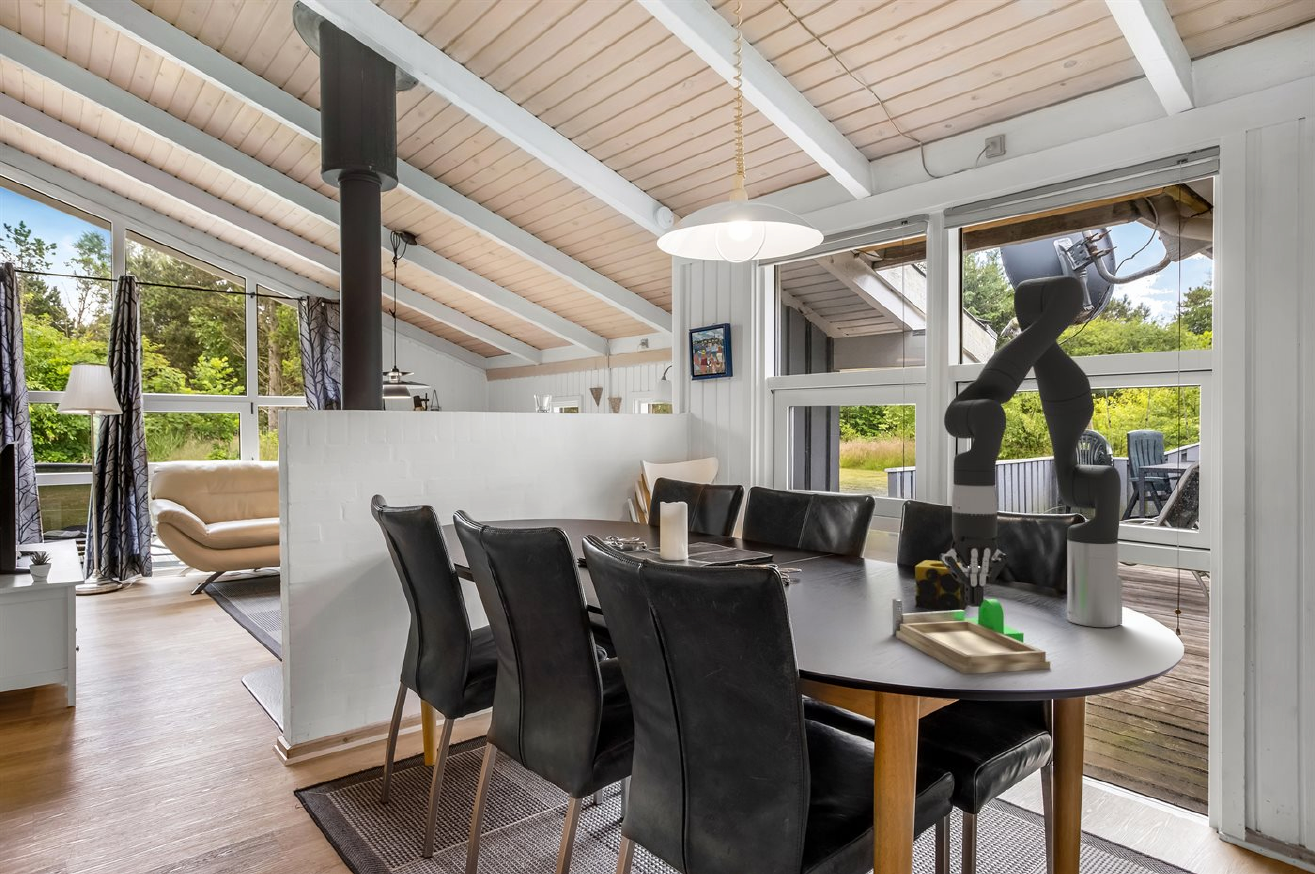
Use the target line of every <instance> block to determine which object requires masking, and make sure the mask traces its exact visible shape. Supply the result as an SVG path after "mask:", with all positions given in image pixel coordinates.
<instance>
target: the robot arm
mask: <svg viewBox="0 0 1315 874" xmlns="http://www.w3.org/2000/svg"><path fill="white" fill-rule="evenodd" d="M1084 293H1085V292H1084V288H1083V286H1082V284H1081V282H1080V280H1079V279H1077V278H1076V277H1075V276H1071V275H1054V276H1046V277H1038V278H1031V279H1026V280H1023V281H1021V282H1019V284H1018V285H1017V286H1016V288H1015V290H1014V294H1013V307H1014V312H1015V317H1016V320H1017V323H1018V326H1019V329H1020V333H1019V334H1017V335H1016V336H1014V337H1013V338H1011V339H1010V340H1009V341H1007V342H1006V343H1004V344H1003V345H1001V347H999V348H998V349H997V350H996V351H995V352H994V353H993V354H992V355H991V357H990V358H989V359H988V361H987V363H986V364H985V366H984V367H983V368H982V370H981V371H980V373H979V375H978V376H977V377H976V379H975V380H974V381H972V382H971V383H970V384H968V385H967V386H966V387H965V388H964V389H962V391H961V392H960V393H959V394H957V395H956V396H955V398H953V399H952V401H950V403H949V405H948V406H947V408H946V411H945V413H944V418H943V424H944V428H945V430H946V432H947V433H948V434H949V435H950V436H952V437H954V438H957V439H968V440H969V439H973V441H972V444H971V447H970V449H968V450H967V451H963V452H960V453H958V454H956V455H955V457H954V459H953V487H952V495H951V496H952V497H951V516H952V517H951V533H952V537H953V539H952V542H951V545H950V550H948V551H947V552H946V553H940V555H939V561H942V563H943V564H944V565H945V567H946V568H947V569H948V571H949V572H950V574H951V575H952V576H953V578H954V579H955V580H956V581H959V582H962V583H964V585H965V602H967V604H968V605H967V606H970V607H972V608H979V607H980V606H981V603H983V600H984V596H985V595H984V589H985V587H984V586H986V584H988V583H993V582H995V580H996V578H997V577H998V576H999V574H1000V573H1001V571H1002V570H1003V569H1004V567H1005V566H1006V564H1007V562H1008V561H1009V560H1010V556H1009V554H1006V553H1003V552H1002V551H1001V550H1000V549H998V547H999V545H998V542H997V540H996V537H997V536H998V495H997V486H996V484H997V483H996V481H997V480H996V479H997V478H996V477H997V473H996V471H997V468H996V466H997V465H996V463H997V460H998V456H999V453H1000V450H1001V445H1002V442H1003V440H1004V435H1005V431H1006V428H1007V415H1006V412H1005V409H1004V407H1003V405H1004V404H1006V403H1008V402H1010V401H1011V400H1012V398H1013V397H1014V396H1015V394H1016V393H1017V391H1018V389H1019V388H1020V387H1021V385H1022V383H1023V381H1024V380H1025V378H1026V377H1027V375H1028V374H1029V372H1030V370H1031V369H1032V368H1033V372H1034V375H1035V381H1036V383H1037V384H1036V385H1037V390H1038V394H1039V399H1040V403H1041V408H1042V411H1043V415H1044V419H1045V422H1046V426H1047V430H1048V435H1049V439H1050V443H1051V448H1052V453H1053V461H1054V468H1055V476H1056V484H1057V489H1058V493H1059V496H1060V498H1061V501H1062V503H1063V504H1064V505H1066V506H1068V507H1071V508H1077V509H1090V510H1091V509H1092V510H1095V514H1094V517H1092V518H1091V519H1089V520H1088V521H1084V522H1081V523H1076V524H1072V525H1070V526H1068V528H1067V531H1066V532H1067V533H1066V534H1067V540H1066V541H1067V544H1066V546H1067V547H1066V548H1067V549H1066V550H1067V551H1066V553H1067V554H1066V555H1067V560H1066V561H1067V563H1066V564H1067V565H1066V566H1067V567H1066V568H1067V572H1066V573H1067V576H1066V577H1067V582H1066V583H1067V584H1066V585H1067V587H1066V588H1067V602H1066V603H1067V609H1066V611H1067V613H1066V614H1067V621H1069V622H1070V623H1073V624H1076V625H1080V626H1086V627H1094V628H1113V627H1114V628H1115V627H1117V626H1119V625H1123V579H1122V578H1120V577H1119V555H1118V554H1119V543H1118V542H1119V541H1118V540H1119V537H1118V536H1119V529H1120V508H1121V507H1120V506H1121V495H1122V493H1121V492H1122V484H1121V482H1122V481H1121V476H1120V473H1119V471H1118V470H1117V469H1116V467H1114V466H1112V465H1101V464H1100V465H1098V464H1097V465H1096V464H1080V463H1079V462H1078V459H1077V448H1078V446H1079V442H1080V440H1081V438H1082V436H1083V435H1084V432H1085V431H1086V430H1087V428H1088V426H1089V424H1090V422H1091V420H1092V419H1093V415H1094V412H1095V403H1094V397H1093V392H1092V388H1091V384H1090V380H1089V378H1088V376H1087V374H1086V373H1085V372H1084V370H1083V369H1082V367H1081V366H1079V364H1078V363H1077V362H1076V361H1075V360H1074V359H1073V358H1072V357H1071V356H1070V355H1069V354H1067V352H1066V351H1065V350H1064V349H1063V348H1062V347H1061V346H1060V344H1059V343H1058V341H1057V339H1059V338H1060V337H1061V336H1062V334H1063V333H1064V332H1065V331H1066V330H1067V329H1068V328H1069V327H1070V326H1071V325H1072V324H1073V322H1075V320H1076V319H1077V317H1078V316H1079V315H1080V313H1081V310H1082V309H1083V306H1084V305H1083V304H1084V301H1085V295H1084ZM956 562H957V563H958V562H959V563H960V565H961V568H960V567H959V565H958V564H957V563H956Z"/></svg>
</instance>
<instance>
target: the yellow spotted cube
mask: <svg viewBox="0 0 1315 874" xmlns="http://www.w3.org/2000/svg"><path fill="white" fill-rule="evenodd" d="M956 563H957V564H958V565H959V567H960V568H961V565H960V562H958V561H957V562H956ZM914 573H915V577H914V580H915V589H916V590H915V593H916V594H915V597H914V598H915V599H914V600H915V608H922V609H923V608H924V609H928V610H929V609H930V610H936V611H937V610H938V611H951V610H964V611H965V610H966V609H967V606H969V605H968V604H967V602H965V585H964V583H962V582H959V581H956V580H955V579H954V578H953V576H952V575H951V574H950V572H949V571H948V569H947V568H946V567H945V565H944V564H943V563H942V561H941V560H928V559H926V560H923V561H921V562H919V563H918V564H917V565H915V566H914Z"/></svg>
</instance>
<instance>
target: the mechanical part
mask: <svg viewBox="0 0 1315 874" xmlns="http://www.w3.org/2000/svg"><path fill="white" fill-rule="evenodd" d="M977 608H978V611H977V614H978V615H977V617H974V618H973V617H972V618H969V617H968V618H965V621H967V620H970V621H972V622H975V623H977V624H979V625H982V626H984V627H987V628H989V629H991V630H994V631H996V632H999V633H1001V634H1004V635H1006V636H1008V637H1011V638H1013V639H1016V640H1018V641H1020V642H1023V643H1024V633H1023V632H1021V631H1019V630H1017V629H1015V628H1013V627H1010V626H1008V625H1006V624H1005V619H1004V617H1005V616H1004V614H1005V613H1004V609H1003V607H1002V605H1001V602H999V600H997V599H995V598H988V599H987V598H986V599H984V600H983V603H981V606H980V607H977Z"/></svg>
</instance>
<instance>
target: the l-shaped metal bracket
mask: <svg viewBox="0 0 1315 874" xmlns="http://www.w3.org/2000/svg"><path fill="white" fill-rule="evenodd" d="M965 613H966V611H965V609H964V610H951V611H944V610H938V611H937V610H936V611H926V612H925V611H924V612H909V613H903V599H901V598H893V599H892V636H895V637H896V631H900V624H910V623H929V622H948V621H965V619H966V615H965Z"/></svg>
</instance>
